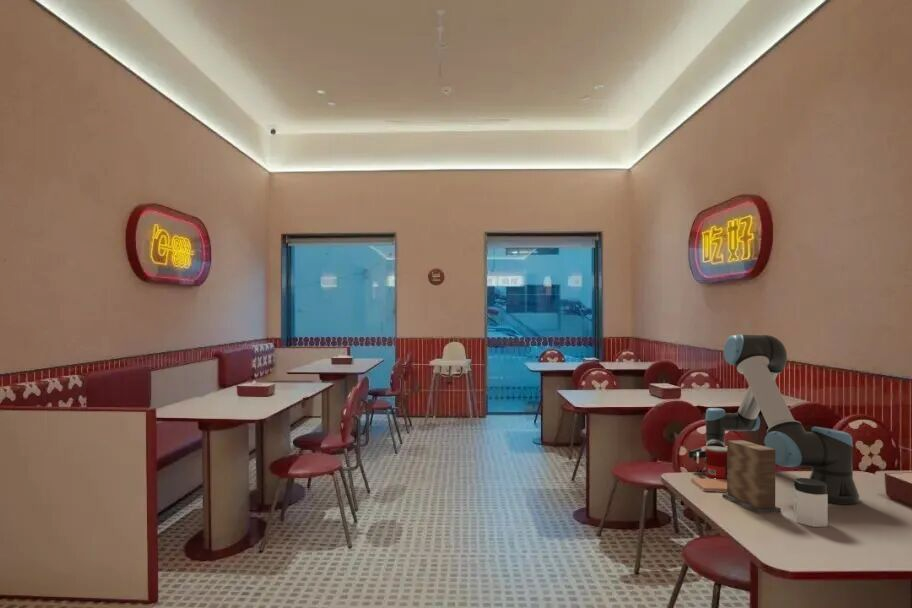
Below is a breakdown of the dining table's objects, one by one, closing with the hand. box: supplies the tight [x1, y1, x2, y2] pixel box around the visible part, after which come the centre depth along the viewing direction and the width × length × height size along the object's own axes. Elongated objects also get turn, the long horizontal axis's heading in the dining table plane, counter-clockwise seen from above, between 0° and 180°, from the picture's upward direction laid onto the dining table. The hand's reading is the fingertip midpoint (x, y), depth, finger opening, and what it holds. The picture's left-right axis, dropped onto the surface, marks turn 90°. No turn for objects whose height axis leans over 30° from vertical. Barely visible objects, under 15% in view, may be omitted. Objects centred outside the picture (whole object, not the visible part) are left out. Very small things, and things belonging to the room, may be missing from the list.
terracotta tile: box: [690, 477, 727, 493], centre depth 200 cm, size 12×12×1 cm
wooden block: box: [722, 439, 781, 514], centre depth 182 cm, size 16×8×19 cm, turn 15°
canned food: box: [705, 446, 727, 480], centre depth 213 cm, size 8×8×11 cm
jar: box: [793, 477, 829, 528], centre depth 166 cm, size 9×8×12 cm
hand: (717, 461), depth 211 cm, fingers open, 13 cm apart
